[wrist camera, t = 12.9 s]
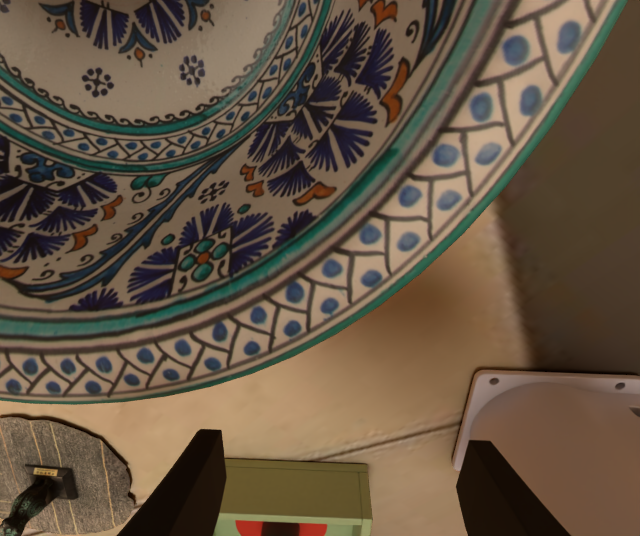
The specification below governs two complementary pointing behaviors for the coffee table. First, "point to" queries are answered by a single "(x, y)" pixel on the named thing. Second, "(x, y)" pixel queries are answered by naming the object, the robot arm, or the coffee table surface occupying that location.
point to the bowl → (249, 171)
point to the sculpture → (59, 480)
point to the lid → (279, 528)
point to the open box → (296, 495)
